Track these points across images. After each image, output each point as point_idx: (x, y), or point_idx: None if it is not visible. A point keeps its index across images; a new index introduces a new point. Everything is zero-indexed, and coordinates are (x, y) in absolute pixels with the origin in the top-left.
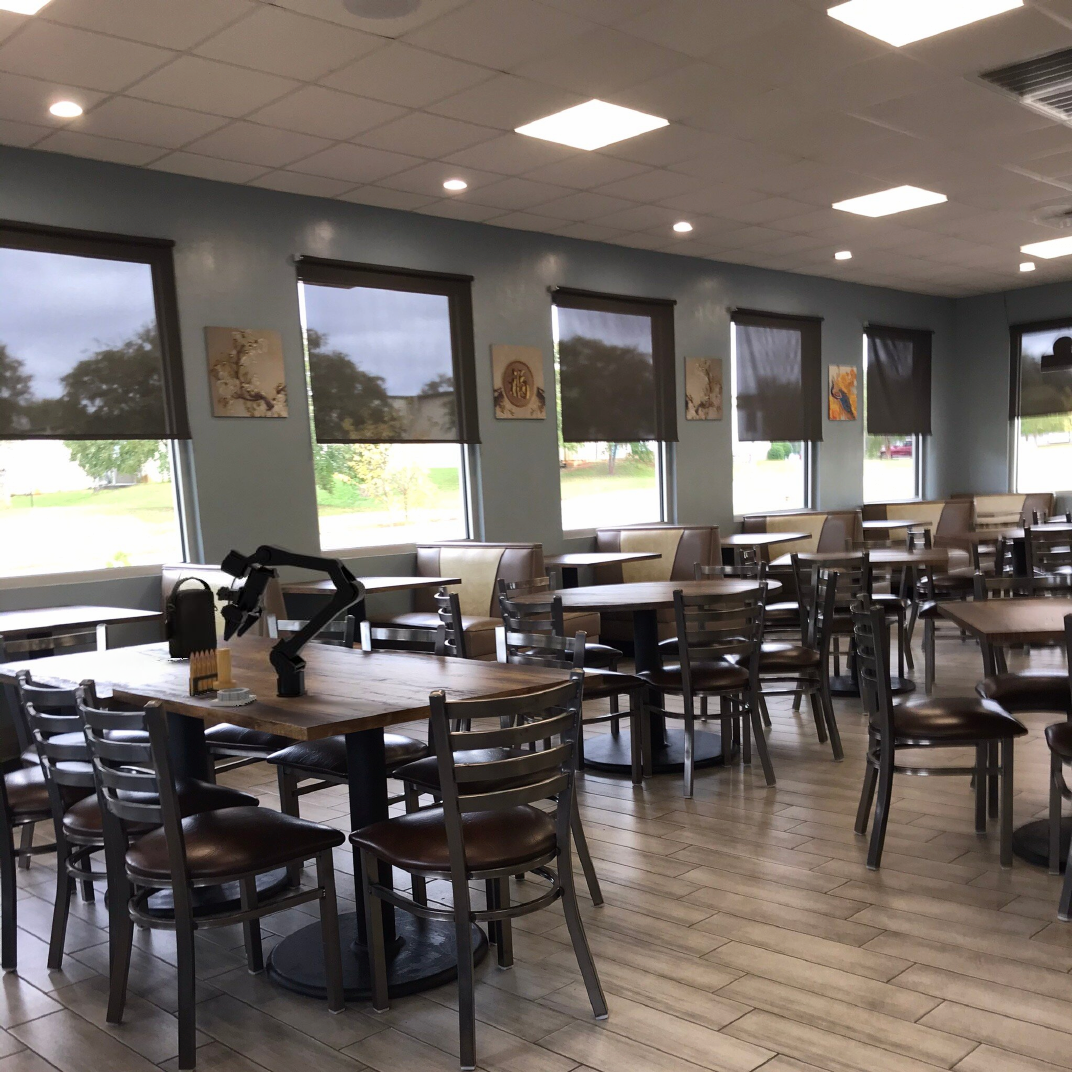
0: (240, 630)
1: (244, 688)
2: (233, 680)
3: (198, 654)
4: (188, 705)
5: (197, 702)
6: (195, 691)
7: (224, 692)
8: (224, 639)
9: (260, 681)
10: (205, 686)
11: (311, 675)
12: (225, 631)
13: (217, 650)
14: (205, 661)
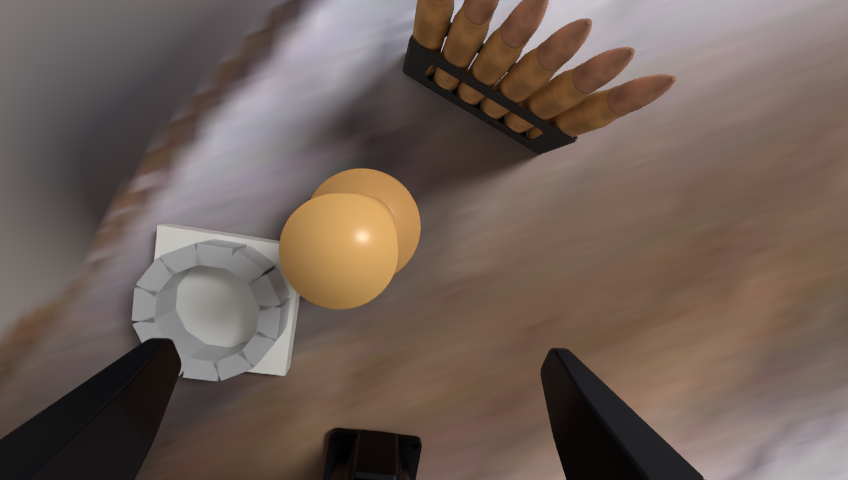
0: (580, 427)
1: (255, 349)
2: (405, 254)
3: None
4: (191, 120)
5: (256, 137)
6: (412, 70)
7: (158, 290)
8: (145, 351)
9: (692, 256)
10: (467, 97)
11: (769, 418)
12: (2, 452)
13: (294, 212)
14: (534, 49)
